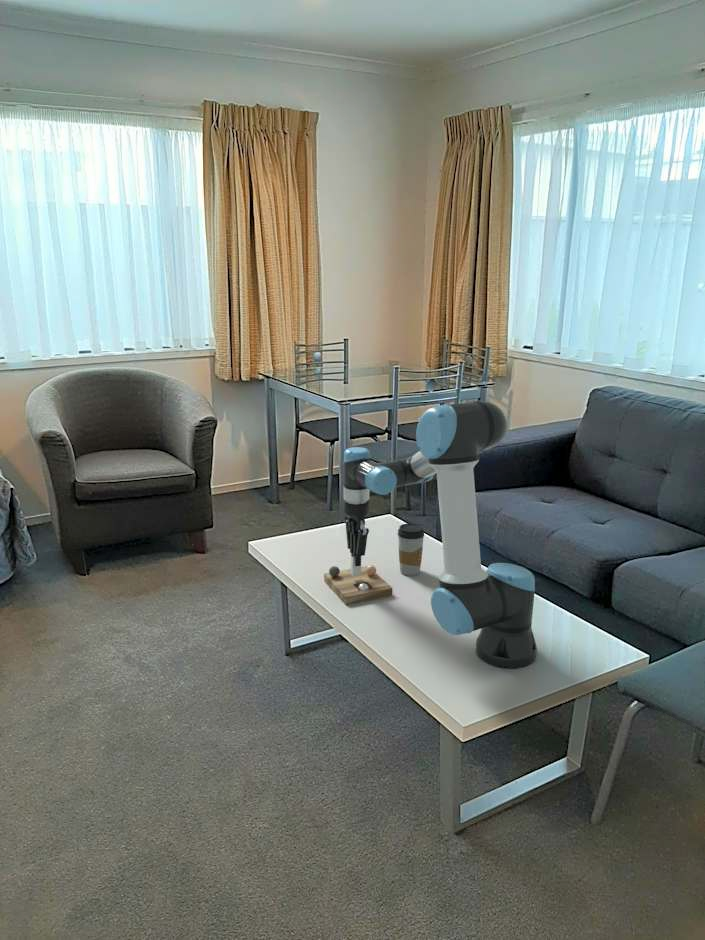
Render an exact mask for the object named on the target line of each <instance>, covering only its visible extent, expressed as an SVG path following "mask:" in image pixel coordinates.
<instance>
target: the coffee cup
mask: <svg viewBox="0 0 705 940" xmlns="http://www.w3.org/2000/svg"><path fill="white" fill-rule="evenodd" d="M397 536H398V537H397V538H398V561H399V571H400V574H402V575H404V576H407V577H410V576H411V577H412V576H413V577H414V576H418V574H420V573H421V567H422V565H421V564H422V556H423V549H424V548H423V545H424V536H425V530H424V527H423V526H422V525H421V524H418V523H413V522H411V523H410V522H407V523H404V524H400V526H399V529H397Z"/></svg>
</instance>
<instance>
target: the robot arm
mask: <svg viewBox="0 0 705 940" xmlns="http://www.w3.org/2000/svg"><path fill="white" fill-rule="evenodd" d="M507 429H508V421H507V417H506V416H505V413H504V411H503V410H502V409H501V408H500V407H499V406H498V405H496V404H495V403H492V402H491V401H487V400H486V401H485V400H474V401H467V402H458V403H451V404H441V405H439V406H438V405H437V406H433V407H431V408H430V407H429V408H428V409H427V410H425V411H424V412H423V414H422V415H421V417H420V418H419V419H418V423H417V427H416V433H415V437H416V438H415V440H416V444H417V448H418V449H419V451H418V452H416V453H415V454H413V455H411V456H410V457H407V458H406V457H405V458H402V459H395V460H390V461H384V462H375V461H373V460H372V459H371V458H372V457H371V451H370V450H369V449H368V448H365V447H361V446H354V447H353V446H352V447H350V448H346V449H345V451H344V453H343V462H342V463H343V497H342V499H343V513H344V514H345V515H346V516H344V523H345V531H346V533H345V534H346V543H347V549H348V550H349V552H350V569H351V575H352V576H355V575H361V567H362V557H363V556H364V557H365V556H366V549H367V542H368V541H367V540H368V534H369V533H370V530H369V528H366V526H365V525H366V520H365V517H366V515H368V514H369V513H370V501H369V500H370V492H373V493H376V494H378V495H382V496H385V495H389V494H390V493H391V492H393V491H394V490H395V488H400V487H403V486H410V485H415V484H422V483H423V484H424V483H426V482H430V481H431V480H433V478H434V476H435V475H436V482H437V492H438V493H437V494H438V496H437V497H438V504H439V505H438V506H439V519H440V520H439V521H440V526H441V527H440V530H441V541H442V551H443V552H442V554H443V564H444V570H443V571H442V573H440V575H439V577H438V581H439V587H437V588H436V589H435V590H433V592H432V594H431V597H430V606H431V611H432V613H433V615H434V618H435V619H436V622H437V623H438V624H439V626H440V627H441V629H443V630H444V631H446V633H448V634H451V635H452V636H453V635H454V636H461V635H463V634H464V635H465V634H471V633H473V632H476V631H478V630H480V632H479V634H478V636H477V638H476V641H475V653H476V655H477V656H478V658H479V659H481V660H482V661H483V660H484V662H485V663H487V664H489V663H490V664H489V665H492V664H493V665H492V666H494V665H496V666H495V667H498V666H500V667H499V668H504V667H507V668H506V669H517V668H516V667H520V668H524V667H526V666H529V664H530V665H531V664H533V663H534V662H535V661H536V658H537V653H538V652H537V651H538V650H537V649H538V647H537V643H536V639H535V635H534V632H533V628H532V624H533V613H534V612H533V611H534V600H535V591H536V588H535V583H536V582H535V581H536V579H535V578H536V577H535V575H534V573H533V572H531V571H530V570H528V569H527V568H525V567H523V566H520V565H517V564H512V563H509V562H508V563H506V562H496V563H495V562H494V563H491V564H489V565H488V567H487V570H484V569H483V568H482V564H481V563H482V562H481V561H482V560H481V548H480V539H479V524H478V513H477V512H478V511H477V501H476V500H477V499H476V489H475V488H476V487H475V485H476V484H475V473H474V468H475V466H476V465H477V464H478V463H479V461H480V455H479V454H480V453H484V452H486V451H487V450H490V449H492V448H493V447H496V446H498V445H499V444H500V443H501V442H502V441H503V439H504V438H505V436H506V433H507ZM532 662H533V663H532Z"/></svg>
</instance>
